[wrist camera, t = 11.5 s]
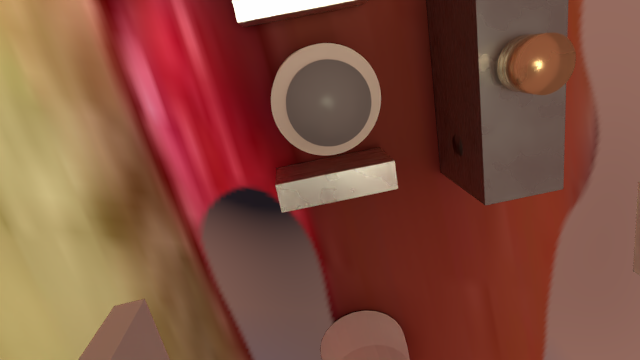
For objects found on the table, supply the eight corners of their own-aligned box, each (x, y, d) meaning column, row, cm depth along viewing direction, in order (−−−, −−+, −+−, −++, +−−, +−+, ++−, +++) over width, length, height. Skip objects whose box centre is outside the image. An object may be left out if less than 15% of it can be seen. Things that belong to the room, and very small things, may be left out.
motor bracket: (284, 204, 30) (285, 264, 21) (232, -22, 25) (206, -63, 16) (501, 159, 30) (587, 200, 22) (495, -71, 25) (604, -135, 17)
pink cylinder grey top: (283, 139, 28) (283, 171, 20) (265, 55, 26) (257, 55, 19) (362, 123, 28) (393, 149, 21) (350, 38, 26) (378, 31, 19)
